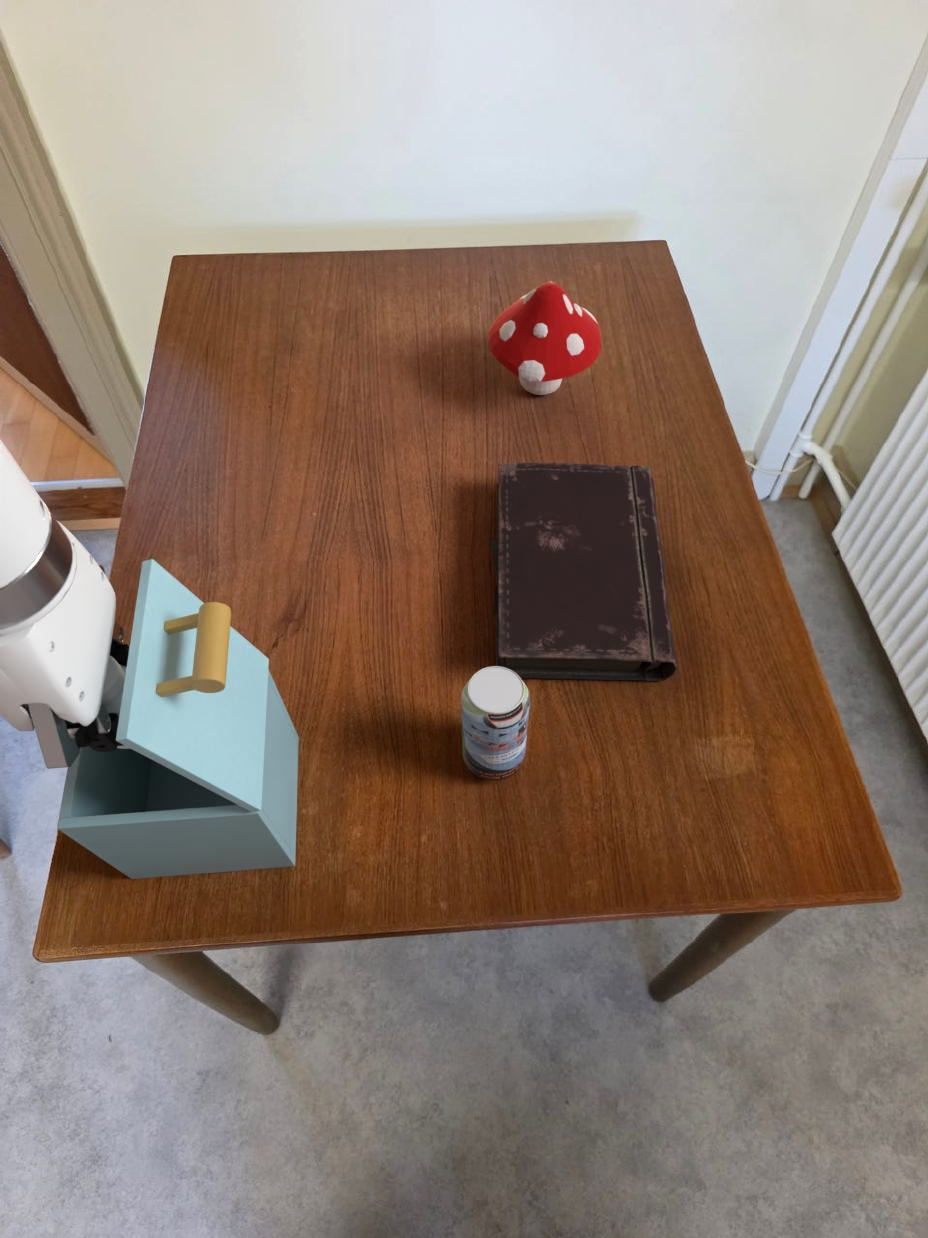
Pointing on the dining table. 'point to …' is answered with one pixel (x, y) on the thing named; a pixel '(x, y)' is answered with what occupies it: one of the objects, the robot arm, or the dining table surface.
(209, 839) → the chest
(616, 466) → the diary
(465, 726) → the beverage can
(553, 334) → the decorative mushroom
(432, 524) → the dining table surface
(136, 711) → the lid
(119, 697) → the pill bottle
